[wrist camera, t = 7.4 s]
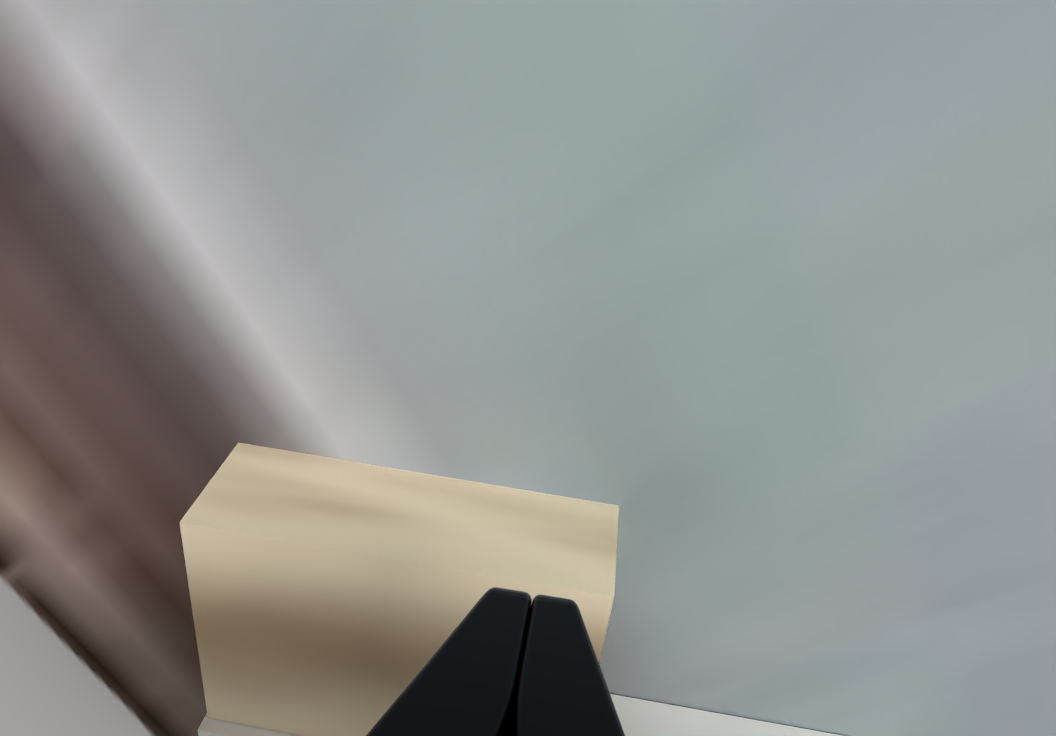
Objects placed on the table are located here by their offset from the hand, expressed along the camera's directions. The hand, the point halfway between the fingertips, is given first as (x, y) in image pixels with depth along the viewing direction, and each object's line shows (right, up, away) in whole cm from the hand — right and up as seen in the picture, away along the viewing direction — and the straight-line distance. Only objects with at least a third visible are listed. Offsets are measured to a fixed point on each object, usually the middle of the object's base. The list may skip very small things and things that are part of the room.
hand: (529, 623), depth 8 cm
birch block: (-3, -3, +15) cm, 16 cm away
